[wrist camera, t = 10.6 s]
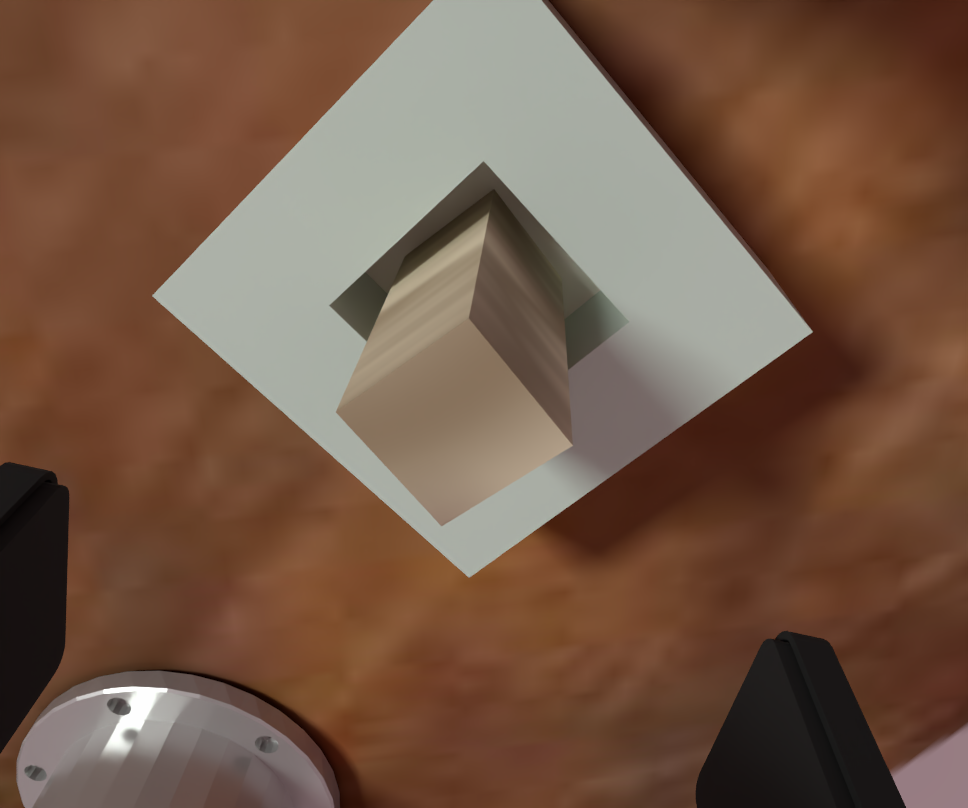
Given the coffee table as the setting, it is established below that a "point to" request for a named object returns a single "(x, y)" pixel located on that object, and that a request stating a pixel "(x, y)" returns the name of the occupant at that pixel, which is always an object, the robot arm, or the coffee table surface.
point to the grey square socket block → (543, 214)
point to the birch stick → (466, 364)
